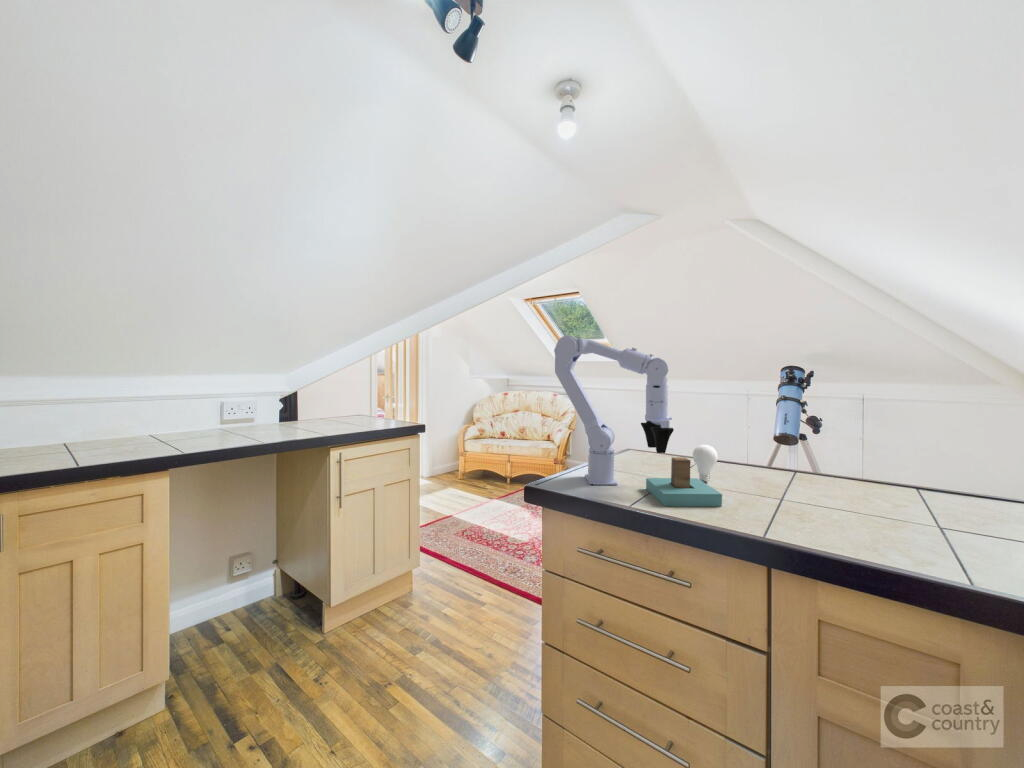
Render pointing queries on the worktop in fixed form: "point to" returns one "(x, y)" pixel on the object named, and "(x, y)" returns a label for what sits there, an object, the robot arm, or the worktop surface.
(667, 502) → the socket block
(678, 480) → the peg
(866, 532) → the worktop surface
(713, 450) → the light bulb
